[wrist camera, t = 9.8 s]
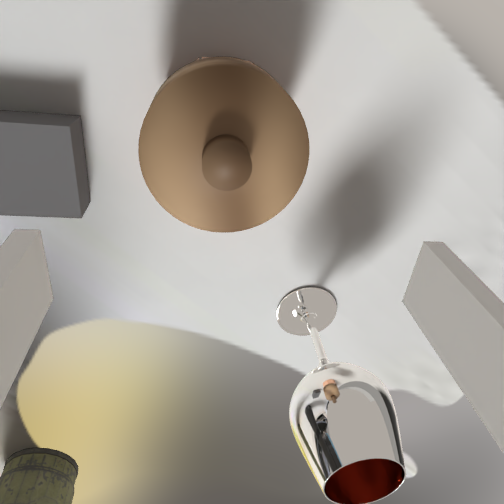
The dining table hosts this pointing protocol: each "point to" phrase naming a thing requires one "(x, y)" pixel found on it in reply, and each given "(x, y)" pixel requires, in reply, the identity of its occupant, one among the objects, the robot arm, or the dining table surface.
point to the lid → (223, 145)
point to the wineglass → (341, 413)
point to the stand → (42, 165)
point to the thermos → (38, 477)
